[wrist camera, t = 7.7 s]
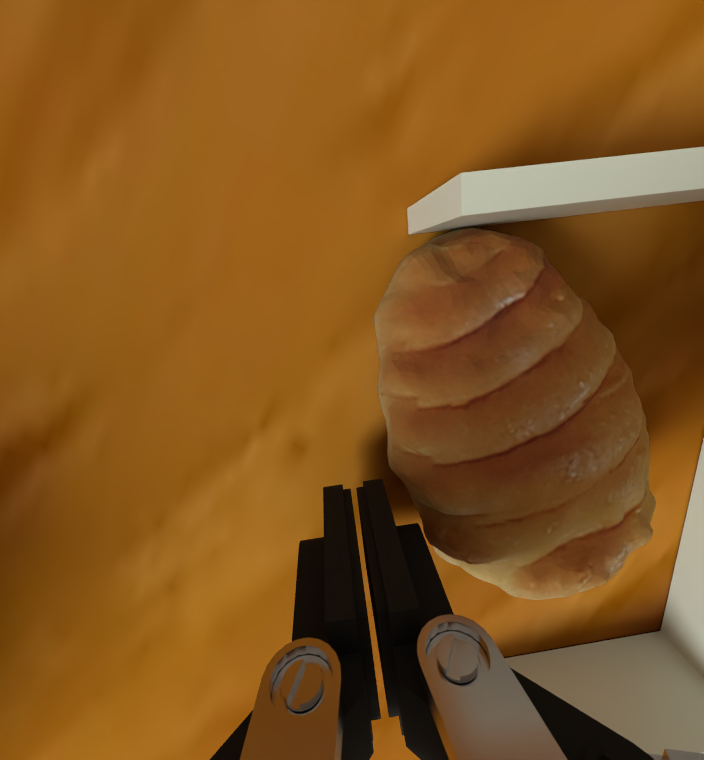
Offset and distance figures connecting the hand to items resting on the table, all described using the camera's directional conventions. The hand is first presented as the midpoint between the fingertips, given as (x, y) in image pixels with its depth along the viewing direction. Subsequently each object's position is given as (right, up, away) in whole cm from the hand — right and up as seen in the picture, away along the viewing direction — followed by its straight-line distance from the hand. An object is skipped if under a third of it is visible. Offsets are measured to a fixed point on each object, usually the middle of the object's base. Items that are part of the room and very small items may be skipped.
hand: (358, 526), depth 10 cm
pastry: (+4, +3, +1) cm, 5 cm away
